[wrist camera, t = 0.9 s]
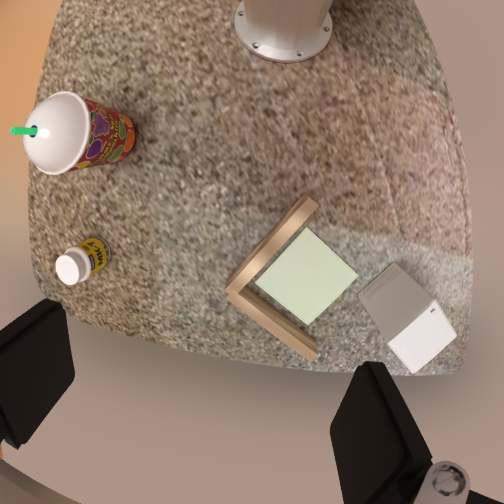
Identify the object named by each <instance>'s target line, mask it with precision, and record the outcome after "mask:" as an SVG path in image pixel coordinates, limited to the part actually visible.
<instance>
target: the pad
mask: <svg viewBox="0 0 504 504" xmlns="http://www.w3.org/2000/svg"><path fill="white" fill-rule="evenodd" d="M358 276H359V275H358V274H357V273H356V272H355V271H354V270H353V269H352V268H350V267H349V266H348V265H347V264H346V263H345V262H344V261H343V260H342V259H341V258H340V257H339V256H338V255H337V254H336V253H335V252H334V251H332V250H331V249H330V248H329V247H328V246H327V245H326V244H325V243H324V242H323V241H322V240H321V239H319V238H318V237H317V236H316V235H315V234H314V233H313V232H312V231H311V230H310V229H308V228H307V227H305V228H304V229H303V230H302V232H301V233H300V234H299V235H298V236H297V237H296V238H295V239H294V240H293V241H292V242H291V244H290V245H289V246H288V247H287V248H286V249H285V250H284V251H283V252H282V253H281V254H280V255H279V256H278V258H277V259H276V260H275V261H274V262H273V263H272V264H271V265H270V266H269V267H268V268H267V269H266V270H265V271H264V272H263V274H262V275H261V276H260V277H259V278H258V279H257V280H256V281H255V283H256V284H257V285H258V286H259V287H261V288H262V289H263V290H264V291H266V292H267V293H268V294H269V295H270V296H272V297H273V298H274V299H275V300H277V301H278V302H279V303H280V304H282V305H283V306H284V307H286V308H287V309H288V310H289V311H291V312H292V313H293V314H294V315H296V316H297V317H298V318H299V319H301V320H302V321H303V322H304V323H306V324H307V325H309V324H310V323H311V322H312V321H313V320H314V319H315V318H316V317H317V316H319V315H320V314H321V313H322V312H323V311H324V310H325V309H326V308H327V307H328V306H329V305H330V304H331V303H332V302H333V301H334V300H335V299H336V298H337V297H338V296H339V295H340V294H341V293H342V292H343V291H344V290H345V289H346V288H347V287H348V286H349V285H350V284H351V283H352V282H353V281H354V280H355V279H356V278H357V277H358Z"/></svg>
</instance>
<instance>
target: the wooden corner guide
mask: <svg viewBox="0 0 504 504" xmlns="http://www.w3.org/2000/svg"><path fill="white" fill-rule="evenodd" d="M318 206H319V205H318V204H317V203H316V202H315V201H314V200H312V199H311V198H310V197H309V196H308V195H306V194H304V195H303V196H302V197H301V198H300V199H299V200H298V201H297V202H296V204H295V205H294V206H293V207H292V208H291V209H290V210H289V211H288V212H287V213H286V215H285V216H284V217H283V218H282V219H281V220H280V221H279V222H278V223H277V225H276V226H275V227H274V228H273V229H272V230H271V231H270V232H269V233H268V235H267V236H266V237H265V238H264V239H263V240H262V241H261V242H260V243H259V245H258V246H257V247H256V248H255V249H254V250H253V251H252V252H251V253H250V254H249V256H248V257H247V258H246V259H245V260H244V261H243V262H242V263H241V264H240V266H239V267H238V268H237V269H236V270H235V271H234V272H233V273H232V274H231V276H230V277H229V278H228V280H227V283H226V287H225V291H226V292H227V294H226V299H227V300H229V301H230V302H231V303H232V304H234V305H235V306H236V307H238V308H239V309H240V310H241V311H243V312H244V313H245V314H247V315H248V316H249V317H251V318H252V319H253V320H255V321H256V322H257V323H258V324H260V325H261V326H262V327H264V328H265V329H266V330H268V331H269V332H270V333H272V334H273V335H275V336H276V337H277V338H279V339H280V340H281V341H283V342H284V343H285V344H287V345H288V346H289V347H291V348H292V349H294V350H295V351H296V352H298V353H299V354H301V355H302V356H303V357H305V358H306V359H308V360H309V361H310V362H311V361H312V360H314V359H315V358H316V357H317V356H318V351H317V347H316V343H315V340H314V339H313V338H312V337H311V336H309V335H308V334H307V333H305V332H304V331H303V330H301V329H300V328H299V327H298V326H296V325H295V324H294V323H292V322H291V321H290V320H289V319H287V318H286V317H285V316H283V315H282V314H281V313H280V312H278V311H277V310H276V309H274V308H273V307H272V306H271V305H269V304H268V303H267V302H266V301H264V300H263V299H262V298H261V297H259V296H258V295H257V294H256V293H254V292H253V291H252V290H251V289H249V288H248V287H247V286H246V284H247V283H248V282H249V281H250V280H251V279H252V278H253V277H254V276H255V275H256V274H257V272H258V271H259V270H260V269H261V268H262V267H263V266H264V265H265V264H266V263H267V262H268V261H269V260H270V258H271V257H272V256H273V255H274V254H275V253H276V252H277V251H278V250H279V249H280V248H281V247H282V246H283V244H284V243H285V242H286V241H287V240H288V239H289V238H290V237H291V236H292V235H293V234H294V232H295V231H296V230H297V229H298V228H299V227H300V226H301V225H302V224H303V223H304V222H305V220H306V219H307V218H308V217H309V216H310V215H311V214H312V213H313V212H314V211H315V209H316V208H317V207H318Z"/></svg>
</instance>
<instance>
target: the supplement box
mask: <svg viewBox="0 0 504 504" xmlns="http://www.w3.org/2000/svg"><path fill="white" fill-rule="evenodd" d="M357 296H358V298H359V300H360V301H361V303H362V304H363V306H364V307H365V309H366V311H367V312H368V314H369V315H370V317H371V318H372V320H373V322H374V323H375V325H376V326H377V328H378V330H379V331H380V333H381V334H382V336H383V338H384V339H385V341H386V343H387V345H388V346H389V347H390V348H391V350H392V351H393V352H394V353H395V354H396V355H397V357H398V358H399V359H400V360H401V361H402V362H403V364H404V365H405V366H406V367H407V368H408V369H409V370H410V371H411V373H412V374H414V373H415V372H416V371H418V370H419V369H420V368H421V367H423V366H424V365H425V364H426V363H427V362H429V361H430V360H431V359H432V358H433V357H434V356H436V355H437V354H438V353H439V352H440V351H441V350H442V349H443V348H444V347H446V346H447V345H448V344H449V343H450V342H451V341H452V340H453V339H454V338H456V337H457V334H456V332H455V331H454V329H453V327H452V325H451V324H450V322H449V320H448V318H447V316H446V315H445V314H444V312H443V310H442V309H441V307H440V305H439V304H438V302H437V300H436V299H435V298H434V297H433V296H432V295H431V294H430V293H429V292H428V291H426V290H425V289H424V288H423V287H422V286H421V285H420V284H419V283H418V282H416V281H415V280H414V279H413V278H412V277H411V276H410V275H409V274H407V273H406V272H405V271H404V270H403V269H402V268H401V267H399V266H398V265H397V264H396V263H395V262H393V263H392V264H391V265H390V266H389V267H388V268H386V269H385V270H384V271H383V272H382V273H381V274H380V275H379V276H378V277H376V278H375V279H374V280H373V281H372V282H371V283H370V284H369V285H367V286H366V287H365V288H364V289H363V290H362V291H361V292H360V293H358V294H357Z"/></svg>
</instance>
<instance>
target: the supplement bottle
mask: <svg viewBox="0 0 504 504" xmlns="http://www.w3.org/2000/svg"><path fill="white" fill-rule="evenodd" d="M109 260H110V249H109V246H108V245H107V243H106V242H105V241H104V240H103V239H101V238H99V237H91V238H89V239H87V240H85V241H83V242H81V243H78V244H76V245H74V246H72V247H70V248H69V249H67V250H66V252H65V253H64V254H63V255H61V256H60V257H59V258H58V259H57V261H56V271H57V274H58V276H59V278H60V279H61V280H62V281H63V282H64V283H66V284H68V285H73V284H75V283H77V282H81V281H84V280H86V279H88V278H89V277H91V276H92V275H93V274H95V273H96V272H98V271H99V270H100V269H102V268H103V267H105V266H106V265H107V264H108V262H109Z"/></svg>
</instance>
